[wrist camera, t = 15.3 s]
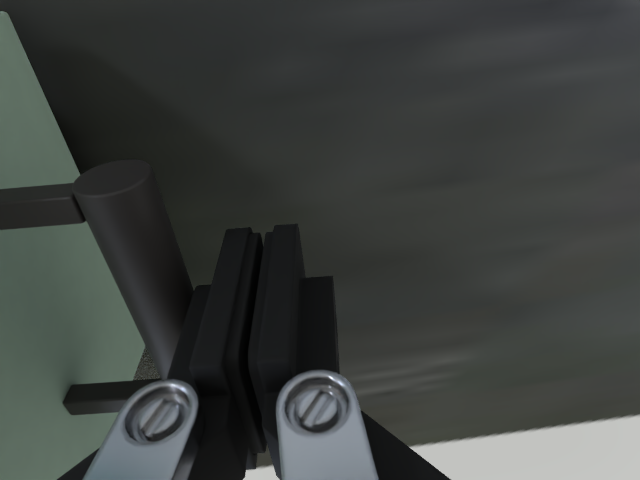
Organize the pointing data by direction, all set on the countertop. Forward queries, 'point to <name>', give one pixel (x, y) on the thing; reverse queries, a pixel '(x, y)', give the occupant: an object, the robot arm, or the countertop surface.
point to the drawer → (74, 283)
